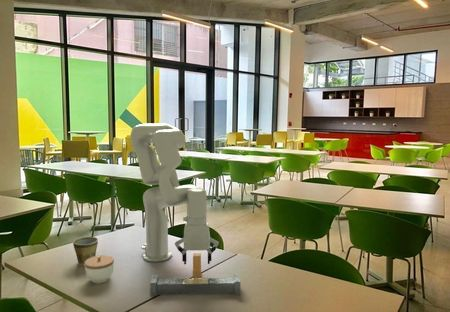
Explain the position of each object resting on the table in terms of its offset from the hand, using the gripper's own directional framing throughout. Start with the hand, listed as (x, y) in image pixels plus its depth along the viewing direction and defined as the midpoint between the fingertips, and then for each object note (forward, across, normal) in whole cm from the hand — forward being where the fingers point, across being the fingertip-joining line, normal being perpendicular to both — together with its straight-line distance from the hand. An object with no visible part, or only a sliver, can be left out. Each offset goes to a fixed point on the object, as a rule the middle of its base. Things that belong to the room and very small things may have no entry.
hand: (197, 262), depth 144 cm
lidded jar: (+6, -38, 0) cm, 38 cm away
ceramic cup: (+6, -49, +17) cm, 52 cm away
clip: (+6, 0, 0) cm, 6 cm away
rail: (+6, 0, -11) cm, 13 cm away
